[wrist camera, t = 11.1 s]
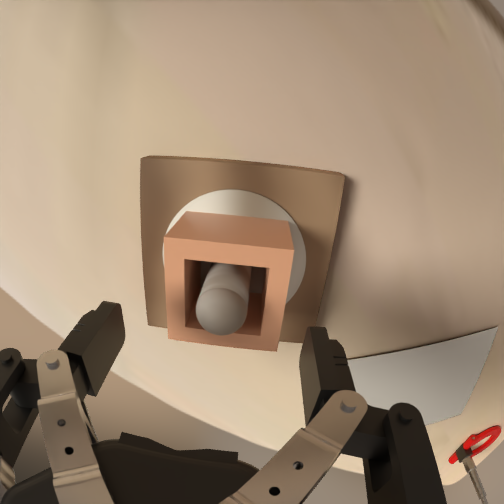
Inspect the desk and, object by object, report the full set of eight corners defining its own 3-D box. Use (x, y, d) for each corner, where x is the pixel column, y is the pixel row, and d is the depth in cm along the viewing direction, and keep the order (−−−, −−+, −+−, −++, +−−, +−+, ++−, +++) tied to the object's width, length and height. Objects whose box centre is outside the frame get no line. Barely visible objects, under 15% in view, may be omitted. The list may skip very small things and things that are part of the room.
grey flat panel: (343, 252, 21) (345, 256, 20) (561, 226, 19) (565, 229, 18) (333, 440, 30) (334, 445, 29) (505, 392, 28) (507, 395, 27)
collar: (185, 298, 20) (168, 338, 16) (186, 210, 18) (163, 237, 14) (275, 307, 20) (276, 351, 16) (288, 220, 18) (294, 250, 14)
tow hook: (506, 419, 31) (471, 431, 30) (536, 474, 19) (501, 496, 19) (480, 448, 34) (444, 460, 34) (503, 501, 22) (466, 520, 22)
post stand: (154, 314, 23) (115, 389, 16) (149, 155, 19) (80, 179, 11) (308, 331, 23) (321, 415, 16) (339, 172, 18) (386, 206, 11)
